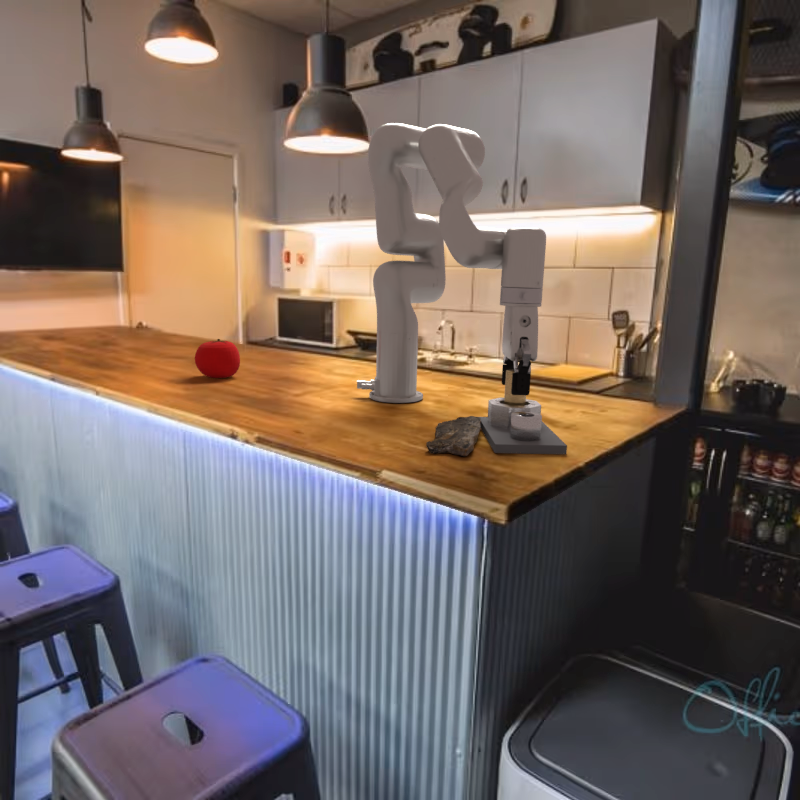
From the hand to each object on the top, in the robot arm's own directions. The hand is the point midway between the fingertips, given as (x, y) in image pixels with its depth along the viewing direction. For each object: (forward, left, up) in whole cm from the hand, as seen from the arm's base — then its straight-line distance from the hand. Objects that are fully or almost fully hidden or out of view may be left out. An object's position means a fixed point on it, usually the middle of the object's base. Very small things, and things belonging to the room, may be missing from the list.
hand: (514, 389), depth 116 cm
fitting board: (0, -5, -8) cm, 10 cm away
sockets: (0, -4, -6) cm, 8 cm away
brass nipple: (0, 0, -6) cm, 6 cm away
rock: (-11, -7, -9) cm, 16 cm away
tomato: (-70, +53, -8) cm, 88 cm away
